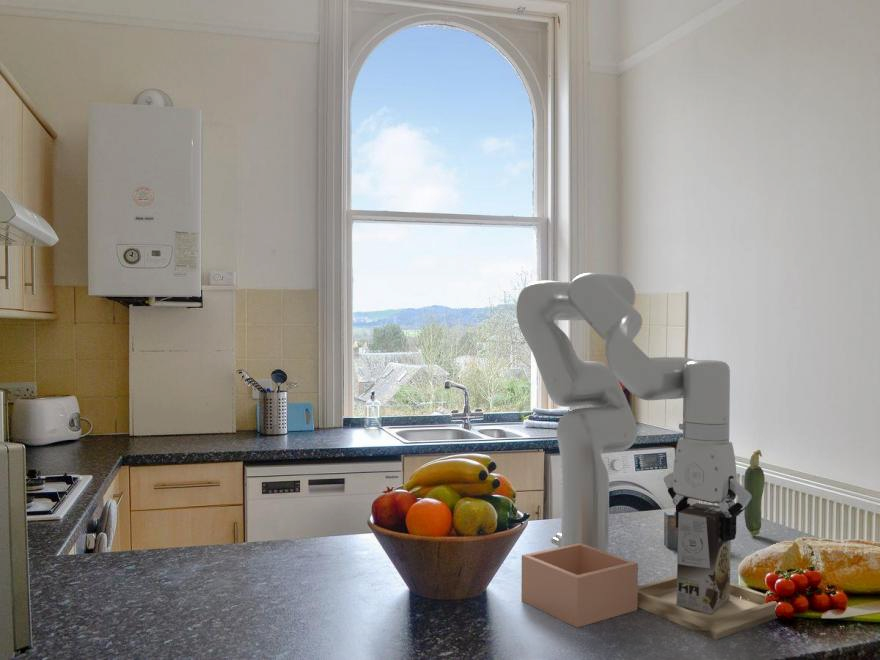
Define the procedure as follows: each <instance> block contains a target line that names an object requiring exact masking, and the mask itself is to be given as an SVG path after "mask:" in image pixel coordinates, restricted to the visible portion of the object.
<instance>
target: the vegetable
mask: <svg viewBox="0 0 880 660" xmlns="http://www.w3.org/2000/svg"><path fill="white" fill-rule="evenodd" d="M762 456H763V455H762V451H761V449H758V450H756V451H754V452H753V454H751V456H750V461H749V466H748V467H747V468H746V469H745V472H744V481H743V482H744V485H743V488H745V489H746V490H747V491H748V492H749V493H750V494H751V495H752V498H751V500H750V501H749V503H748V504H747V505H746V508H745V509H744V510H743V511H744V512H743V513H744V522H745V527H746V528H747V531H748V532H749V534H750V535H751V536H752V537H755V536H758V535H759V533H760V530H761V528H762V510H761V509H762V505H761V504H762V497H763V495H764V488H765V480H766V479H765V473H764V470H763V469H762V467H761V466H760V458H761V457H762Z"/></svg>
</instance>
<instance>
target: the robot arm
mask: <svg viewBox="0 0 880 660" xmlns="http://www.w3.org/2000/svg"><path fill="white" fill-rule="evenodd" d="M635 302H636V291H635V288H634V286H633V284H632V282H631V281H630V280H629V279H628V278H626V277H625V276H623V275H621V274H617V273H603V272H602V273H600V272H586V273H582V274H579V275H577V276H576V277H574V278H573V279H572V280H571V281H561V280H538V281H535V282H530V283H529V284H527V285H526V286H524V287H523V288H522V290H521V291H520V292H519V294H518V297H517V301H516V319H517V324H518V327H519V330H520V333H521V334H522V336H523V338H524V340H525V341H526V343H527V344H528V347H529V349H530V350H531V351H530V352H531V353H532V355H533V359H534V360H535V363H536V366H537V368H538V370H539V374H540V376H541V379H542V382H543V384H544V386H545V388H546V389H545V390H546V392H547V394H548V396H549V398H550V400H551V402H553V403H554V404H555V405H556V406H559V407H565V408H571V407H573V408H574V409H572V410H569V411H567V412H566V413H564V414H563V415H562V416H561V417H560V418H559V420H558V423H557V426H556V439H557V443H558V444H557V445H558V450H559V457H560V464H561V465H560V466H561V472H560V473H561V521H560V522H561V523H560V525H561V528H560V530H561V532H558V533H557V534H556V535H555V536H554V537H552V538H551V539H550V540H551V541H550V542H551V544H553V545H556V546H558V547H563V546H568V545H572V544H577V543H582V544H585V545H588V546H590V547H593V548H596V549H599V550H602V551H605V552H608V553H610V551H609V550H610V549H609V547H610V546H609V545H610V540H609V539H610V536H609V535H610V533H609V531H610V530H609V527H610V521H609V520H610V518H609V517H610V479H609V477H610V475H609V472H608V469H607V467H606V464H605V463H604V460H603V458H602V455H604V454H609V453H616V452H617V453H618V452H622V451H623V452H624V451H626V450H628V449H629V448H631V447H632V446H633V445H634V443H635V441H636V439H637V435H638V428H637V423H636V419H635V415H634V413H633V410H632V408H631V406H630V403H629V402H628V399H627V396H626V394H625V392H624V390H623V387H624V388H625V389H627V391H629V393H630V394H632V395H634V396H635V397H636V398H638V399H640V400H645V401H661V400H662V401H663V400H677V399H678V400H679V399H682V400H683V401H682V421H681V422H679V424H678V429H679V430H681V431H682V436H681V437H679V438H678V441H677V444H676V448H675V453H674V461H673V472H671V473H669V474H668V475H666V476H664V477H663V482H664V484H665V486H666V488H667V492H668V494H669V496H670V497H671V499H672V503H673V505H674V506H675V512H676V528H678V515H679V513H678V512H680V511H682V510H684V509H686V508H688V507H690V506H691V503H689V501H690V499H691V500H696V501H701V502H703V503H709V504H713V503H714V504H717V506H719V507H720V509H721V511H722V513H723V515H724V517H721V519H720V539H721V541H724V542H726V541H730V540H731V541H734V540H735V539H736V535H737V517H739V516H740V515H741V513H742V512H743V511H744V510H745V508H746V505H747V504H748V503H749V501H750V500H751V498H752V495H751V494H750V493H749V492H748V491H747V490H746V489H745V488H744V486H743V485H741V483H739V482H738V476H737V463H736V455H735V450H734V445H733V442H731V441H730V419H731V418H730V411H731V409H730V406H731V405H730V404H731V403H730V401H731V400H730V399H731V397H730V395H731V391H730V389H731V388H730V387H731V382H730V381H731V370H730V369H731V368H730V366H729V364H728V363H726V362H725V361H722V360H712V359H711V360H710V359H692V358H689V357H683V356H679V357H678V356H673V357H669V356H663V357H662V356H661V357H649V356H648V355H647V354H646V353H644V352H643V350H642V349H640V347H639V346H637V344H636V342H634V340H635V338H636V337H637V335H638V334H639V333H640V331H641V329H642V325H643V318H642V315H641V314H640V312H639V311H638V310H637V309H636V308H635V307H634V304H635ZM555 321H585V322H586V323H587V324H588V325H589V327H591V328H592V329H593V330H594V331H595V333H596V334H597V335H598V336H599V337H600V338H601V339H602V340H603V341H604V344H605V345H604V353H605V357H606V361H607V362H606V363H607V364H606V363H603V362H601V361H595V360H585V361H583V360H581V359H580V358H579V357H578V354H577V353H576V351H575V349H574V346H573V344H572V341H571V339H570V338H569V336H568V335H567V334H566V333H565V332H564V330H562V329H561V328H560V327H559V326H558V325H557V324H556V323H555ZM621 384H622V385H621ZM622 386H623V387H622ZM586 406H587V407H586ZM588 406H589V407H588ZM575 407H579V408H575ZM580 407H581V408H580ZM582 407H583V408H582ZM736 497H737V498H738V499H737V501H735V500H736ZM558 547H557V548H558Z"/></svg>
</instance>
